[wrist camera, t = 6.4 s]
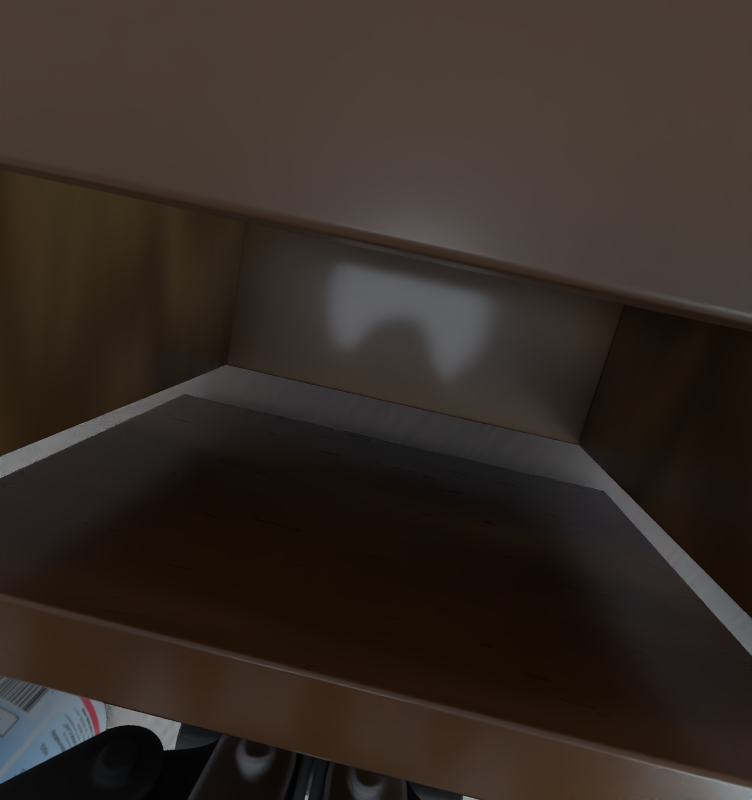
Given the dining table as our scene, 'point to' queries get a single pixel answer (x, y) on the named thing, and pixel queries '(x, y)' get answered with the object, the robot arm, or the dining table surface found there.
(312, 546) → the drawer
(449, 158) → the cabinet
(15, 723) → the pill bottle
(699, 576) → the dining table surface
